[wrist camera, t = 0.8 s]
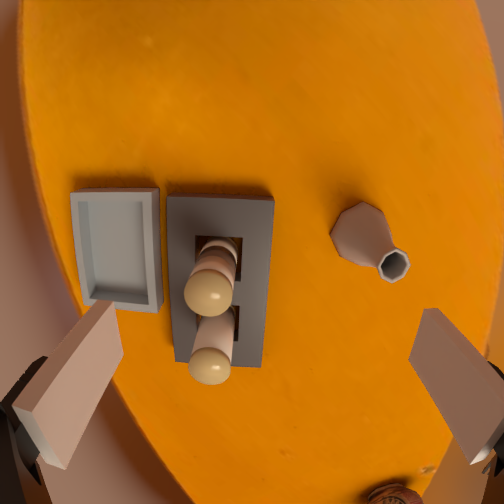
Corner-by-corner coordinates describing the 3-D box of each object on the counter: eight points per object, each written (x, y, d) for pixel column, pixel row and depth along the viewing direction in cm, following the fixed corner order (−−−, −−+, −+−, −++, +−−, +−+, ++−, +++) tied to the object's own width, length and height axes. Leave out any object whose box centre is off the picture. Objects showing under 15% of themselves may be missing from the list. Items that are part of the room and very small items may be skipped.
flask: (318, 234, 36) (340, 269, 27) (362, 189, 34) (399, 209, 25) (357, 274, 38) (386, 316, 28) (399, 232, 36) (440, 263, 26)
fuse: (203, 296, 39) (187, 351, 28) (236, 298, 39) (230, 354, 28) (203, 324, 40) (189, 382, 30) (235, 326, 40) (229, 385, 30)
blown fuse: (203, 233, 36) (183, 271, 26) (238, 234, 36) (232, 275, 26) (202, 266, 37) (184, 314, 27) (237, 268, 37) (231, 318, 27)
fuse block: (172, 192, 34) (166, 196, 32) (273, 196, 34) (274, 201, 32) (178, 350, 41) (175, 361, 39) (260, 355, 42) (260, 367, 39)
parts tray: (82, 188, 34) (70, 192, 31) (159, 187, 34) (151, 192, 31) (93, 294, 39) (84, 304, 36) (163, 301, 39) (157, 313, 36)
